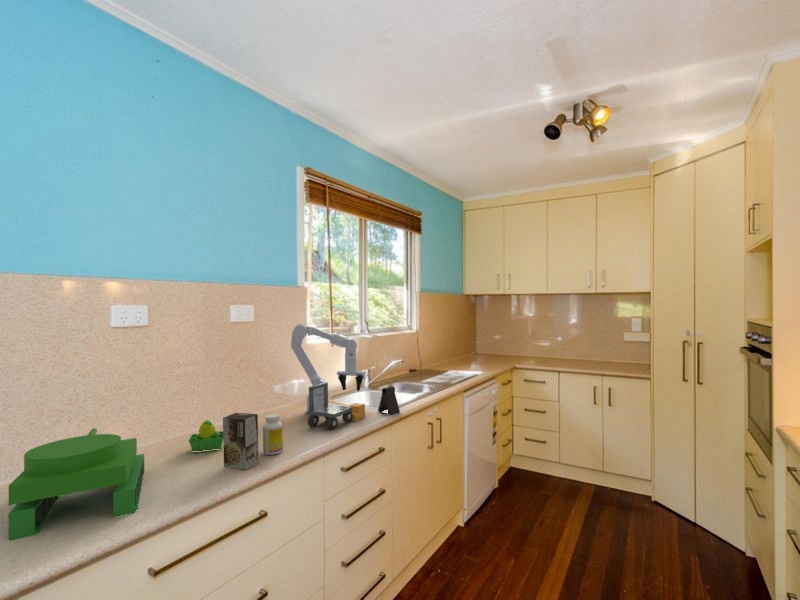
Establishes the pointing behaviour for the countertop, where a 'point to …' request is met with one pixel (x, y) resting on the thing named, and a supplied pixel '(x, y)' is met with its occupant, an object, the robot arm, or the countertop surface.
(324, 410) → the trolley
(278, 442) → the supplement bottle
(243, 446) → the coffee box
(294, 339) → the robot arm
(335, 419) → the trolley wheels
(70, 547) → the countertop surface
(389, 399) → the black triangular stand
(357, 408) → the wheel chock
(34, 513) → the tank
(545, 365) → the countertop surface
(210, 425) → the fruit basket
